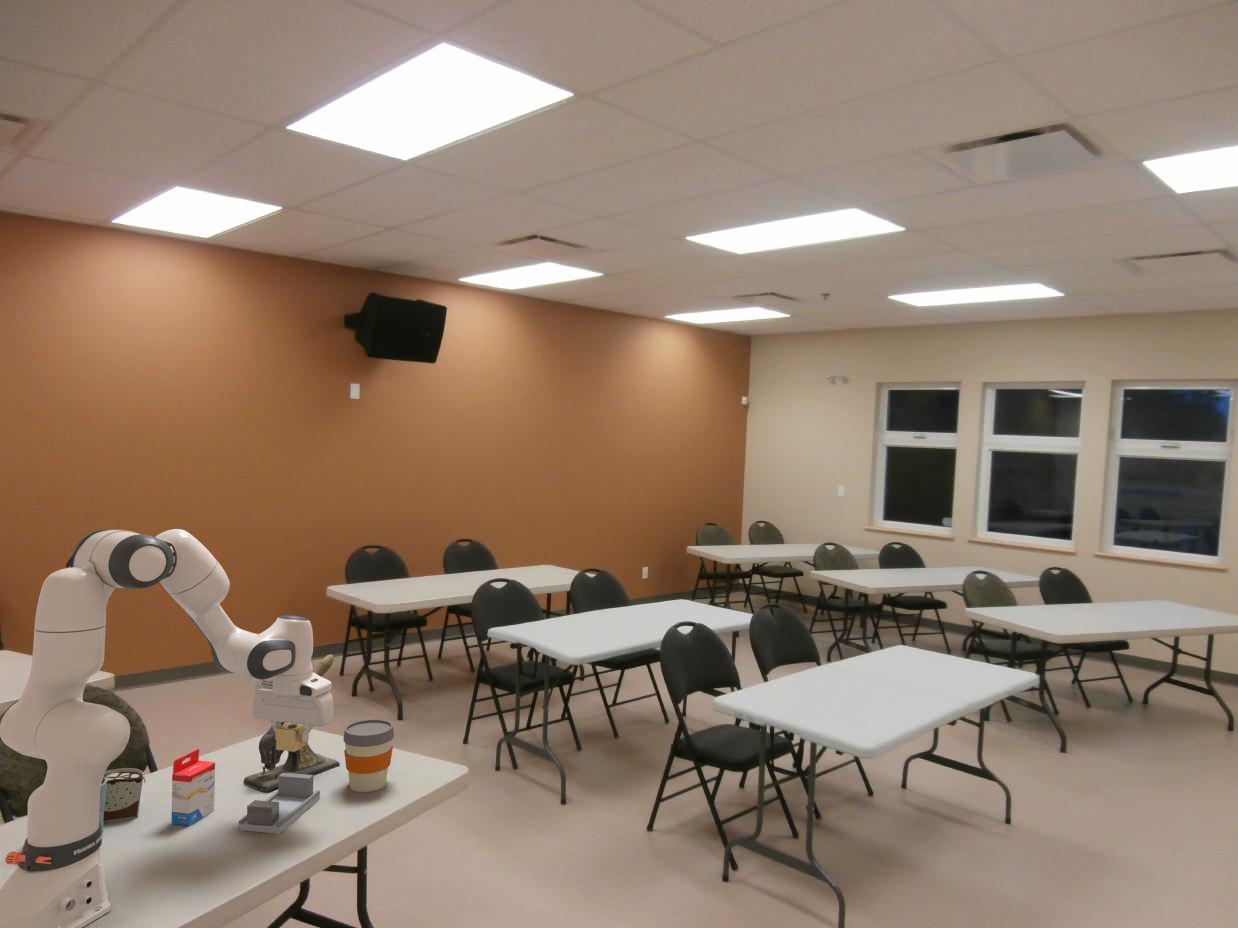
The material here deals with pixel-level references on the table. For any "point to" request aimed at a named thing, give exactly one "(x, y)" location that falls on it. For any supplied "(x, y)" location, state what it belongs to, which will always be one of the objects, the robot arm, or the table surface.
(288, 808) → the press bed
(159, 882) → the table surface
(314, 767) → the embossing press
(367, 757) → the reusable coffee cup
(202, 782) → the ink box
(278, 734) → the housing
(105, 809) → the food container
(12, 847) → the table surface
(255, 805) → the block
